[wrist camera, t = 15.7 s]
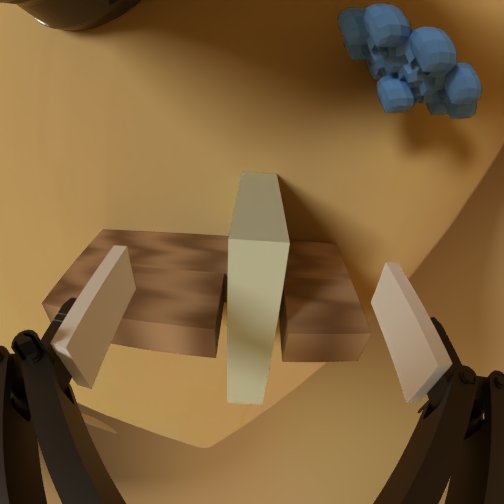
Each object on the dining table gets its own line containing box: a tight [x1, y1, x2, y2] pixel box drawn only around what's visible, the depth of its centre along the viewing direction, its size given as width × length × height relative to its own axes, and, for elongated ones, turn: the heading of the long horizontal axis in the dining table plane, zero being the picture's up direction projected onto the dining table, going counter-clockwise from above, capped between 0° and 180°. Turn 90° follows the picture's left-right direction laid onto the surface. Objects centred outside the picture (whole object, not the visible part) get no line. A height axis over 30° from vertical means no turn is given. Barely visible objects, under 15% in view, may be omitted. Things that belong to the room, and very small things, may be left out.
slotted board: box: [42, 230, 372, 362], centre depth 23 cm, size 24×3×12 cm, turn 86°
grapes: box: [337, 3, 482, 119], centre depth 14 cm, size 12×7×12 cm, turn 65°
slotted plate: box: [227, 172, 290, 404], centre depth 23 cm, size 16×3×12 cm, turn 177°
